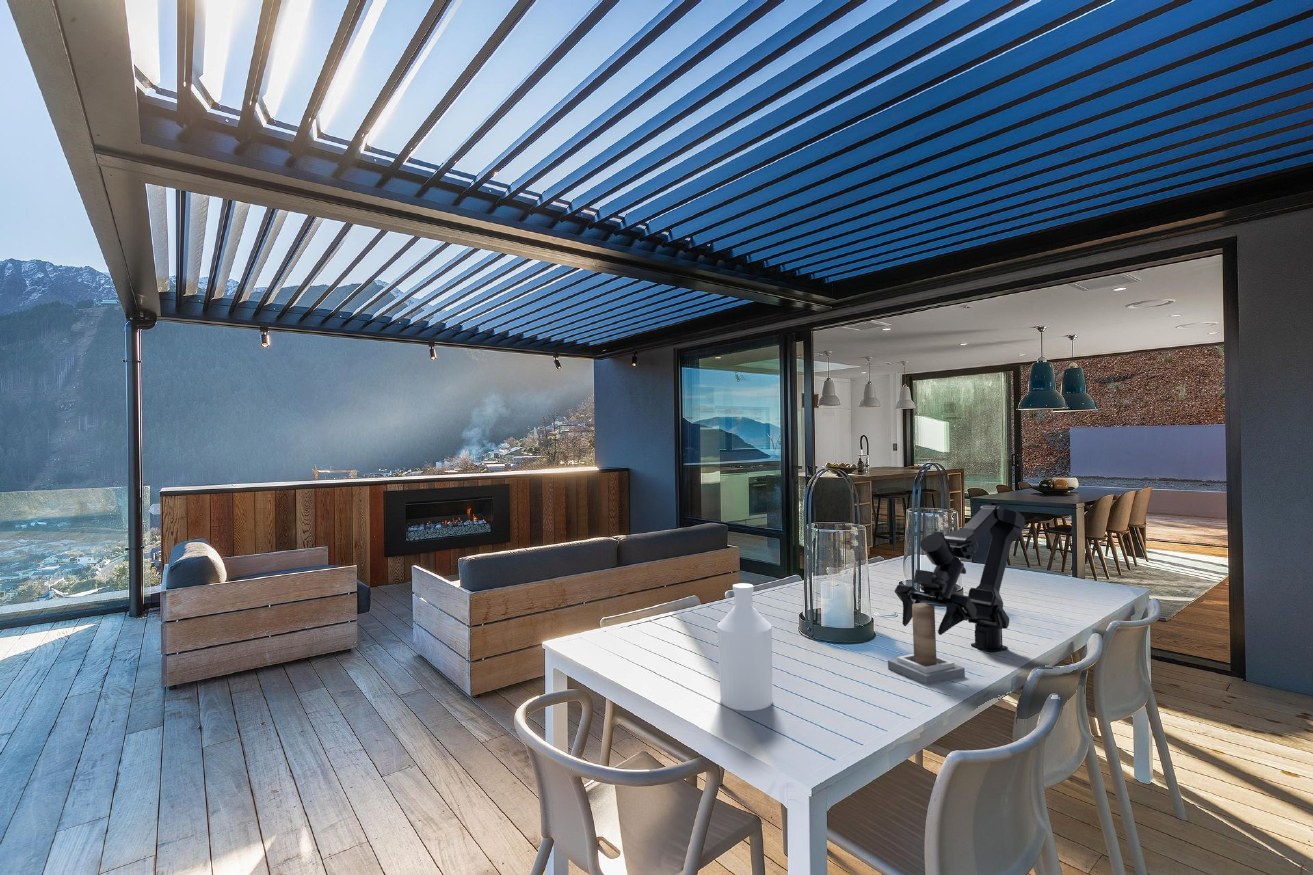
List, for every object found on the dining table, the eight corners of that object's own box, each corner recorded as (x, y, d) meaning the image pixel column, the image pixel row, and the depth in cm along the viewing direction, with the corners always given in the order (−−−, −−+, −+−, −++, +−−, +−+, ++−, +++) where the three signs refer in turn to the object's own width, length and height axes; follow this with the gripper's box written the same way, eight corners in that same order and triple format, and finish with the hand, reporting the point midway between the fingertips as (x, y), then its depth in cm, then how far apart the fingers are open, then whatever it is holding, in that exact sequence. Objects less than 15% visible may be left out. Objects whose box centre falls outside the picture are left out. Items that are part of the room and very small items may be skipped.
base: (924, 660, 155) (924, 648, 155) (964, 676, 143) (964, 663, 144) (888, 668, 150) (887, 656, 150) (926, 685, 139) (926, 671, 139)
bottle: (708, 700, 133) (705, 586, 134) (741, 685, 142) (738, 577, 142) (752, 716, 125) (748, 594, 126) (784, 698, 133) (781, 584, 134)
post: (916, 659, 150) (914, 602, 151) (938, 662, 148) (936, 604, 148) (912, 665, 146) (910, 606, 146) (934, 668, 143) (932, 609, 144)
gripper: (897, 552, 157) (872, 602, 151) (968, 562, 142) (943, 617, 136) (916, 578, 162) (892, 628, 155) (987, 590, 146) (964, 646, 140)
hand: (921, 629), depth 146 cm, fingers open, 9 cm apart
